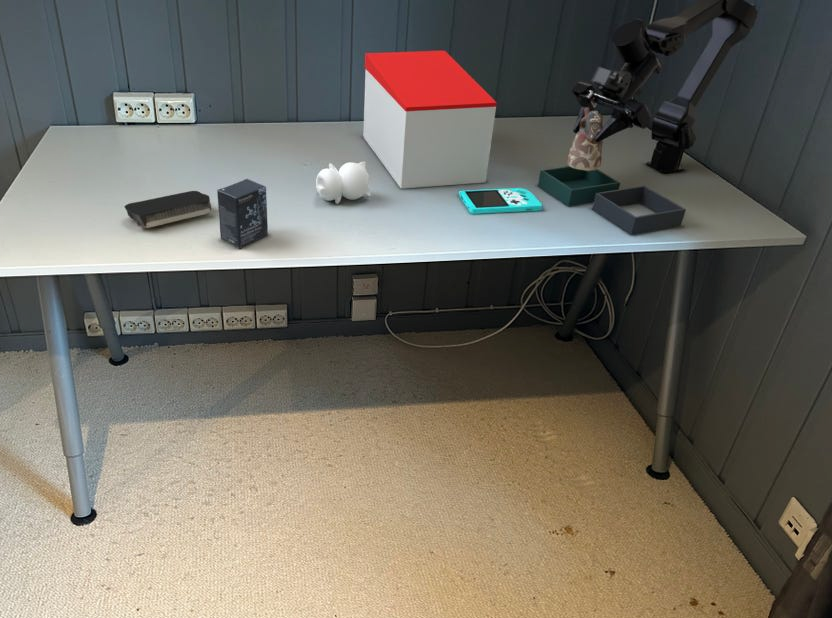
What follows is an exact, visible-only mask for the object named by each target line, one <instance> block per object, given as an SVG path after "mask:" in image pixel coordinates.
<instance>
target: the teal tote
mask: <svg viewBox="0 0 832 618" xmlns="http://www.w3.org/2000/svg"><path fill="white" fill-rule="evenodd" d="M620 186H621V181H618V180H617V179H616V178H613V177H612V176H610V175H608V174H606V173H605V172H603V171H601V170H600V169H599V168H598V169H596V170H590V171H586V170H580V169H575V168H572V167H570V166H569V165H566V166H561V167H551V168H547V169H540V171H539V177H538V183H537V187H539V188H540V189H542V190H543V191H545V192H546V193H547V194H549V195H551V196H552V197H554V198H555V199H557V200H558V201H559V202H561V203H562V204H564V205H565V206H567V207H574V206H580V205H585V204H586V205H587V204H593V203H594V198H595V194H596V193H600V192H607V191H613V190H619V189H620Z"/></svg>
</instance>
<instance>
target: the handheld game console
mask: <svg viewBox="0 0 832 618" xmlns="http://www.w3.org/2000/svg"><path fill="white" fill-rule="evenodd" d="M458 197H459V198H460V199H461V201H462V203H463V204H464V206H465V207H466V209H467V210H468V211H469V213H470V214H472V215H476V214H478V215H481V214H497V213H517V212H536V211H542V209H543V204H542V203H541V202H540V201H539V199H538V198H537V197H536V196H535V195H534V194H533V193H532V192H531V191H529V190H528V189H526V188H522V187H509V188H489V189H488V188H487V189H468V190H467V189H466V190H459V193H458Z"/></svg>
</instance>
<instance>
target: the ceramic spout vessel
mask: <svg viewBox="0 0 832 618" xmlns="http://www.w3.org/2000/svg"><path fill="white" fill-rule="evenodd" d="M584 112H585V117H584V118H582V119H581V121H580V130H579V132H577V133H575V134H576V135H575V136H574V138H573V141H572V143H571V146H570V148H569V151H568V155H567V161H566V162H567V163H566V164H567V166H570V167H572V168H575V169H580V170H586V171H590V170H596V169H598V170H599V168H600V167H601V166H602V160H603V159H602V157H603V156H602V152H603V143H604V139H603V140H601V141H600V142H596V141H595V138H596V136H597V135H598V133H599V132H600V131H601V129H602V128H603V127H604V125H603V119H604V116H603V115H602V114H601V112H600V111H598V110H596V111H591V112H590V109H589V108H585V109H584Z"/></svg>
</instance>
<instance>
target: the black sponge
mask: <svg viewBox="0 0 832 618" xmlns="http://www.w3.org/2000/svg"><path fill="white" fill-rule="evenodd" d="M123 207H124V209H125V210H126V214H127V216H128V217H129V218H130V219H131V220H133V221H135V222H136V224H137V225H138V226H140V227H142V228H145V229H146V228H147V229H148V228H152V227H153V228H154V227H157V226H162V225H166V224H170V223H175V222H178V221H179V222H180V221H183V220H187V219H191V218H195V217H200V216H203V215H208V214H209V213H210V212H211V211H212V204H211V199H210V196H209V195H208V194H205V193H202V192H200V191H198V190H189V191H185V192H179V193H174V194H170V195H164V196H160V197H155V198H150V199H146V200H141V201H135V202H130V203H127V204H126V205H124V206H123Z"/></svg>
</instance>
